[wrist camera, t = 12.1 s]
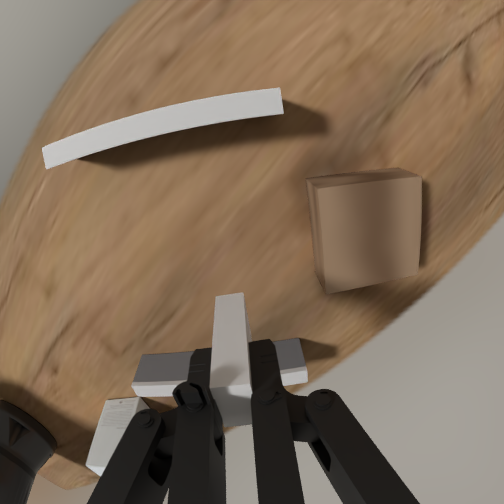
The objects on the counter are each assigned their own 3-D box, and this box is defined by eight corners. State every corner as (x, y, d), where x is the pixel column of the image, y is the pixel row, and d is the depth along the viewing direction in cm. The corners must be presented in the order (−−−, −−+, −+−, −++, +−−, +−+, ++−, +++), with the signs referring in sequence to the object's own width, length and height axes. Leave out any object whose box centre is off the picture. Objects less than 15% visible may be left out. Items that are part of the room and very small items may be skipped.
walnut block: (314, 270, 26) (325, 294, 22) (304, 177, 23) (317, 188, 19) (397, 254, 26) (417, 274, 22) (396, 167, 22) (421, 176, 19)
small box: (105, 398, 32) (82, 464, 22) (141, 395, 32) (122, 468, 22) (137, 432, 35) (123, 493, 26) (171, 430, 35) (161, 496, 25)
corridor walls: (147, 365, 29) (137, 396, 25) (72, 141, 20) (41, 147, 16) (299, 349, 29) (307, 381, 25) (271, 94, 20) (279, 87, 16)
